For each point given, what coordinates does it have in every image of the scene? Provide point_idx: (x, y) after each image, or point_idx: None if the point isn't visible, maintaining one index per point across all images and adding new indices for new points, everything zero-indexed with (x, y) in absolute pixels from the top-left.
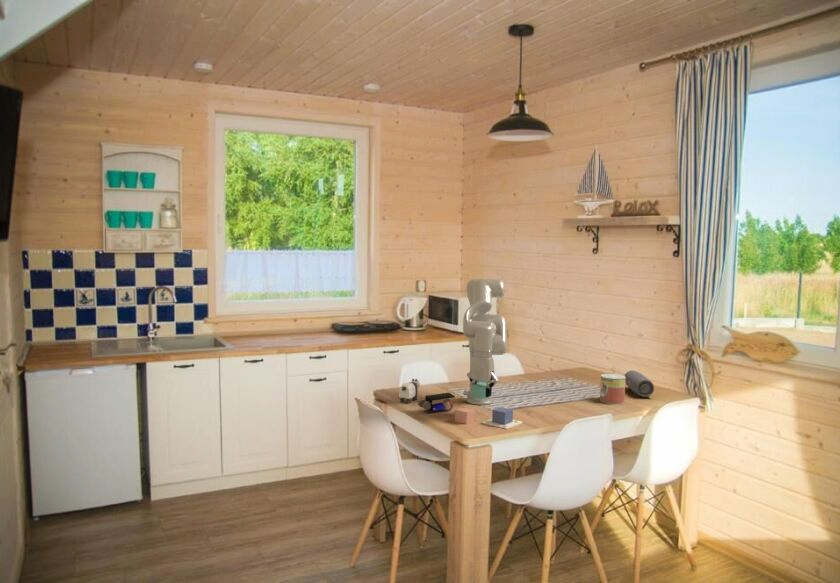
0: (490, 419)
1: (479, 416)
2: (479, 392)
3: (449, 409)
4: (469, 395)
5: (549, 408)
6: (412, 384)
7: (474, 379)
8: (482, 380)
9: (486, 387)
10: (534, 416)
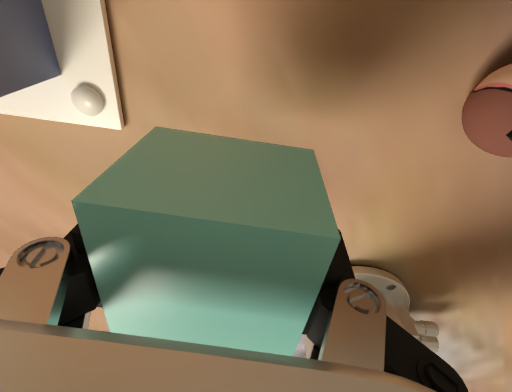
0: (95, 15)
1: (228, 81)
2: (199, 165)
3: (481, 81)
4: (398, 314)
5: (89, 329)
6: None
7: (319, 362)
8: (12, 347)
9: (95, 252)
10: (29, 237)
